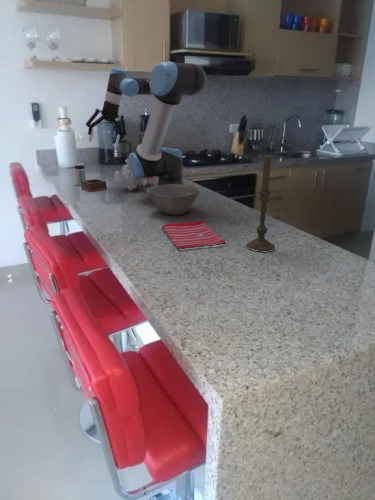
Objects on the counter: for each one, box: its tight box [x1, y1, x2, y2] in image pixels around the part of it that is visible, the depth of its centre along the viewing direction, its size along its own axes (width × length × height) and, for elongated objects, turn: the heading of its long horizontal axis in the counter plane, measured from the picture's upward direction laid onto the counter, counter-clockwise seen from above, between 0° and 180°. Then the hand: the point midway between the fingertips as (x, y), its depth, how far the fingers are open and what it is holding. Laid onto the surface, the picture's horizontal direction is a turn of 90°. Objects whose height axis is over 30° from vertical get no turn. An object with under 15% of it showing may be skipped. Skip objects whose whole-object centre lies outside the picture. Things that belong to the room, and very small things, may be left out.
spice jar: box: [74, 162, 87, 187], centre depth 213 cm, size 5×5×12 cm
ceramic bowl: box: [146, 184, 201, 216], centre depth 163 cm, size 22×23×10 cm
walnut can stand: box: [80, 178, 108, 193], centre depth 205 cm, size 10×10×4 cm
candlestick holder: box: [246, 155, 276, 251], centre depth 121 cm, size 9×9×30 cm
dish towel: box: [161, 220, 227, 250], centre depth 135 cm, size 17×24×3 cm
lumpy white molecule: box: [121, 158, 158, 192], centre depth 208 cm, size 20×18×25 cm
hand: (103, 144), depth 198 cm, fingers open, 13 cm apart
